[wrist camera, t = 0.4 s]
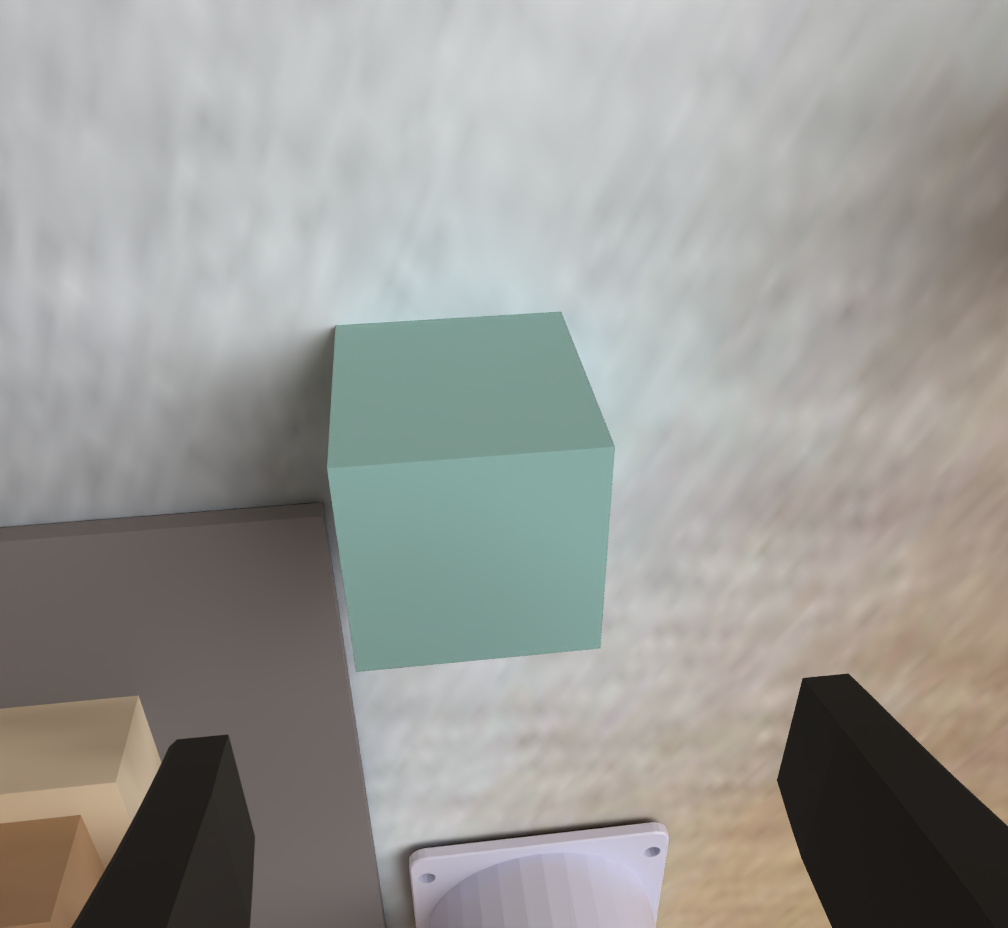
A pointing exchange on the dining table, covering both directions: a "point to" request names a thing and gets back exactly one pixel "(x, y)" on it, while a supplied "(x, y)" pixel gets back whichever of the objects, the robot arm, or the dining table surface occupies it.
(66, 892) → the walnut slab
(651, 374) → the dining table surface
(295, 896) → the charcoal mat
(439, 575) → the teal block
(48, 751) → the birch slab
